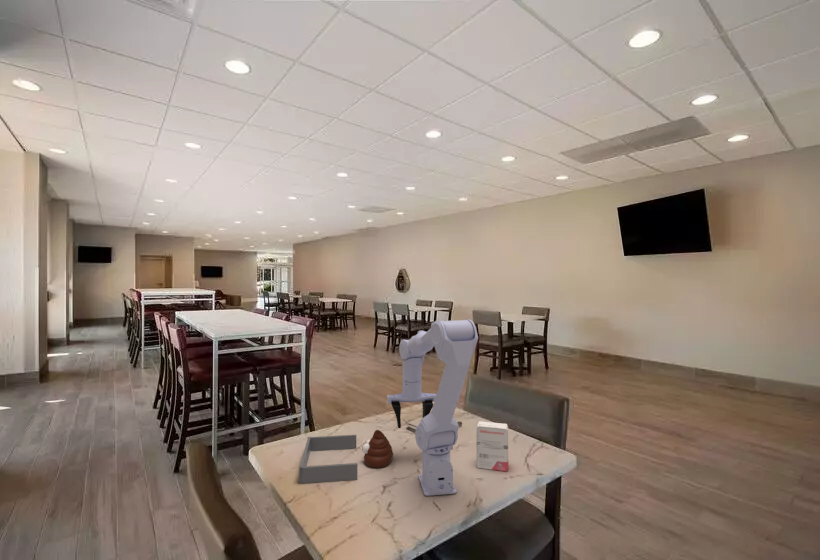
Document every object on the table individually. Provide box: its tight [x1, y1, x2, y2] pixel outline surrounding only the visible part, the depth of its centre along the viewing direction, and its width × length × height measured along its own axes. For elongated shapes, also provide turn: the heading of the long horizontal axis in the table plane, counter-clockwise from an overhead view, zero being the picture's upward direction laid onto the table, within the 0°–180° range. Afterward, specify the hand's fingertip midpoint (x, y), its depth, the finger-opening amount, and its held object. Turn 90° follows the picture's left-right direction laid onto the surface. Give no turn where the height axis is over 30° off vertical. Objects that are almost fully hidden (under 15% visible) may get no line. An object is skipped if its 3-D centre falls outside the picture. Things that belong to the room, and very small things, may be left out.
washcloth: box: [406, 418, 463, 434], centre depth 136 cm, size 12×18×3 cm, turn 131°
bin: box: [298, 434, 359, 485], centre depth 108 cm, size 20×15×4 cm
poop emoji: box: [361, 429, 394, 469], centre depth 110 cm, size 10×8×9 cm
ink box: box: [476, 420, 509, 472], centre depth 107 cm, size 9×5×12 cm, turn 74°
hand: (411, 426), depth 111 cm, fingers open, 7 cm apart
